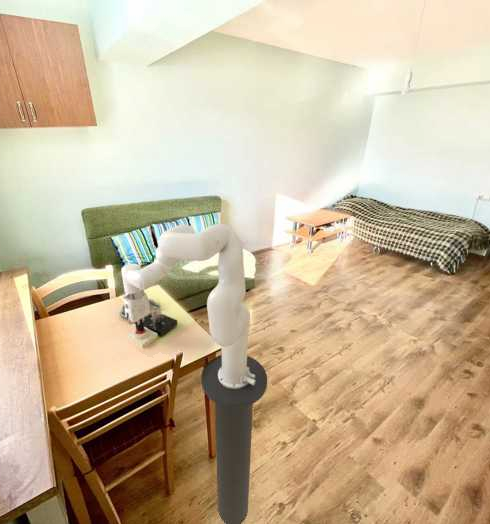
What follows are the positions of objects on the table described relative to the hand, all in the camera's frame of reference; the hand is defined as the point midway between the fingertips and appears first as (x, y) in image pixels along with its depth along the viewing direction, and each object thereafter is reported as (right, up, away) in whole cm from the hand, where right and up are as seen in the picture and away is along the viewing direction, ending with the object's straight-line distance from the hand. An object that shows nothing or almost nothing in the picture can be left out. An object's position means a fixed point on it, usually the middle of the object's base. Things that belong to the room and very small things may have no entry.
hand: (140, 329), depth 121 cm
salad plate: (-8, +5, +23) cm, 25 cm away
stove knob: (+5, +2, +10) cm, 11 cm away
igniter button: (0, -2, +1) cm, 2 cm away
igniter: (0, -4, +2) cm, 5 cm away
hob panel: (+5, -1, +11) cm, 12 cm away
